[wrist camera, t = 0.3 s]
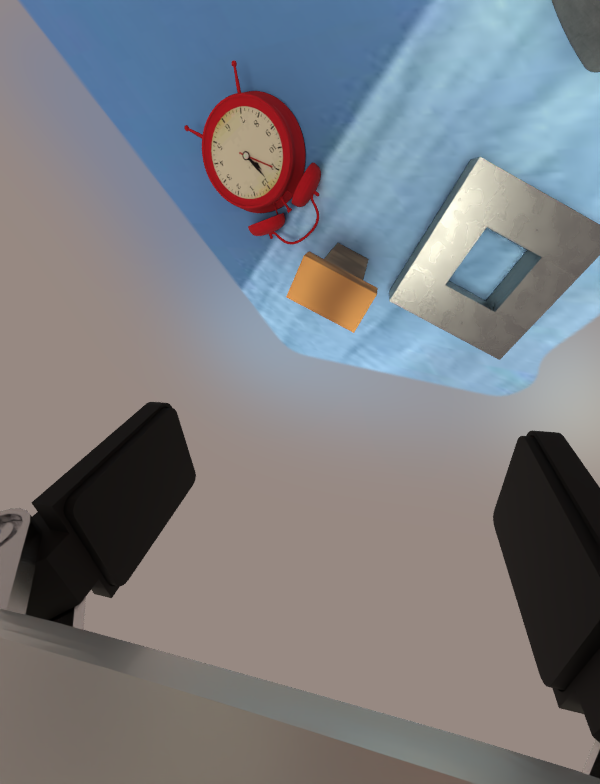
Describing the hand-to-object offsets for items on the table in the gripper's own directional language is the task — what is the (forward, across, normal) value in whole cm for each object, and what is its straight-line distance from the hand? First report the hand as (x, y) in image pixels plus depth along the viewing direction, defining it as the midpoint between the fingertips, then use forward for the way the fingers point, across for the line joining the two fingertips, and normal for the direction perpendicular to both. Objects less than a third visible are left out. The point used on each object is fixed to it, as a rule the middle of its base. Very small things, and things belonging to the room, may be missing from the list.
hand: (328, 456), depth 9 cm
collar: (+34, -11, +1) cm, 36 cm away
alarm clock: (+34, +12, -9) cm, 37 cm away
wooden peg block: (+34, +4, +1) cm, 34 cm away
